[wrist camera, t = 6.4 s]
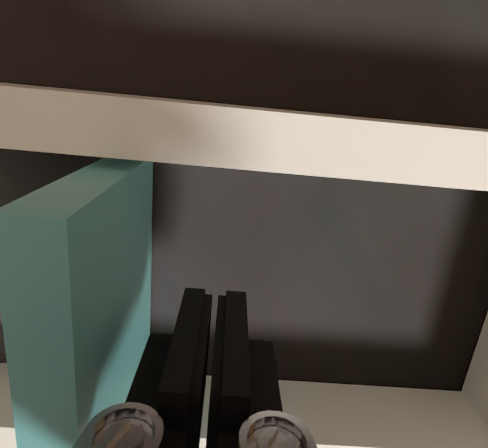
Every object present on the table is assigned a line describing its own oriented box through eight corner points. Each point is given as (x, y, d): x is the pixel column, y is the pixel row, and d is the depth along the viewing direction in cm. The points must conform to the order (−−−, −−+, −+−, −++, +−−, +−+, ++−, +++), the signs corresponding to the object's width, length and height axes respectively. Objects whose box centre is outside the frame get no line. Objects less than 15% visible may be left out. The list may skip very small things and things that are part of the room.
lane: (474, 420, 17) (569, 551, 12) (-55, 389, 16) (-182, 518, 11) (575, 137, 13) (772, 162, 8) (-114, 71, 12) (-347, 56, 7)
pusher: (149, 368, 15) (86, 570, 9) (13, 360, 15) (-155, 562, 9) (153, 155, 13) (66, 218, 6) (-12, 140, 12) (-282, 191, 6)
